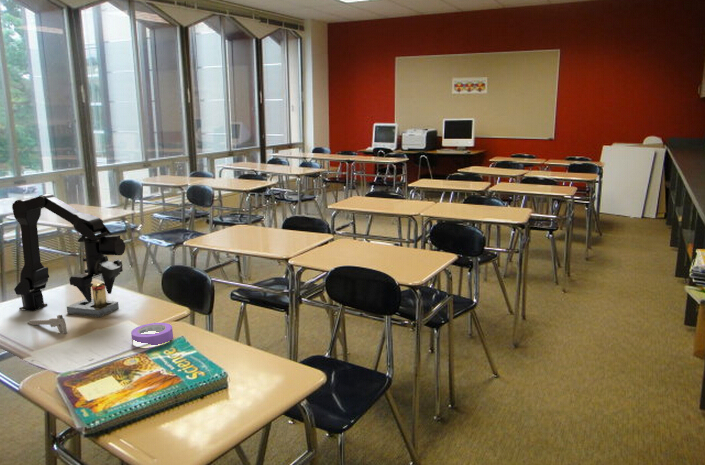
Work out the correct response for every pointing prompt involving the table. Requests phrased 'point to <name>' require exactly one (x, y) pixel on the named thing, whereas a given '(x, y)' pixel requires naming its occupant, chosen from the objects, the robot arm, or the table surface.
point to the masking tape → (153, 339)
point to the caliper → (52, 323)
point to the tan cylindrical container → (99, 295)
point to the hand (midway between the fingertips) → (99, 297)
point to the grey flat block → (91, 308)
